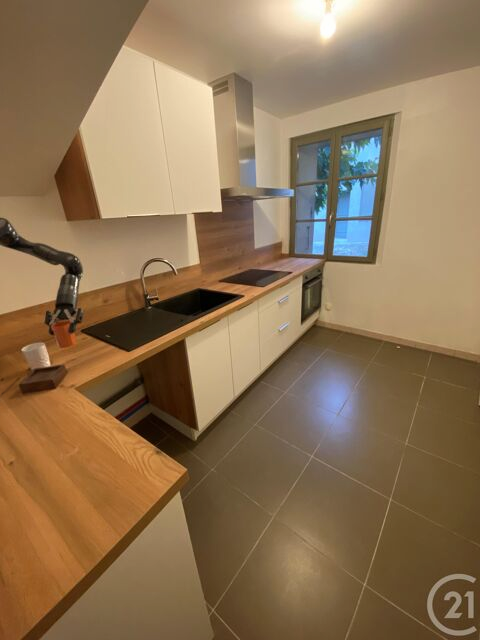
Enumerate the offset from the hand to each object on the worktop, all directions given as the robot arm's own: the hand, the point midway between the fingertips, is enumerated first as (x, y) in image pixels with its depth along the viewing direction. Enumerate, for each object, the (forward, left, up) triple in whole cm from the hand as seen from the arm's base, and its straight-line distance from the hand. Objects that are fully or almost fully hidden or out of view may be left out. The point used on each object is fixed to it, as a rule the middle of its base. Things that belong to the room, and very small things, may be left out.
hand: (61, 333), depth 104 cm
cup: (0, +2, -5) cm, 6 cm away
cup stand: (-6, -10, -16) cm, 19 cm away
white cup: (-14, +4, -16) cm, 21 cm away
